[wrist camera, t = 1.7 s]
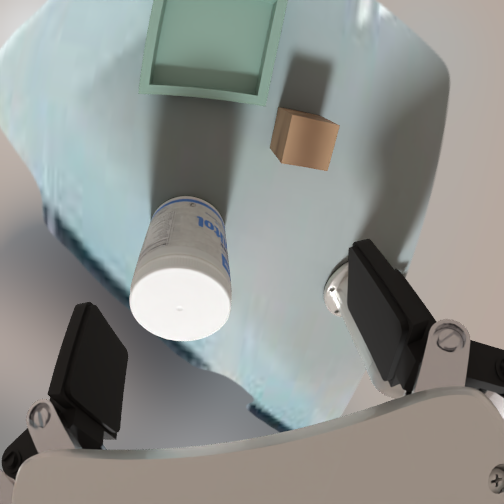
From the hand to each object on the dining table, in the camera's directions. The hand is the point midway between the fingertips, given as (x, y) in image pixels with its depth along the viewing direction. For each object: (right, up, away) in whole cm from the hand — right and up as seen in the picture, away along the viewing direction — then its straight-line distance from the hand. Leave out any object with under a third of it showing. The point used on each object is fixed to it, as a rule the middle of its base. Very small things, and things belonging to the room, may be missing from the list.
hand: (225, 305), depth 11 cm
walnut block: (+6, +16, +23) cm, 28 cm away
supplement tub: (-7, +5, +28) cm, 29 cm away
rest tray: (-3, +24, +16) cm, 29 cm away
